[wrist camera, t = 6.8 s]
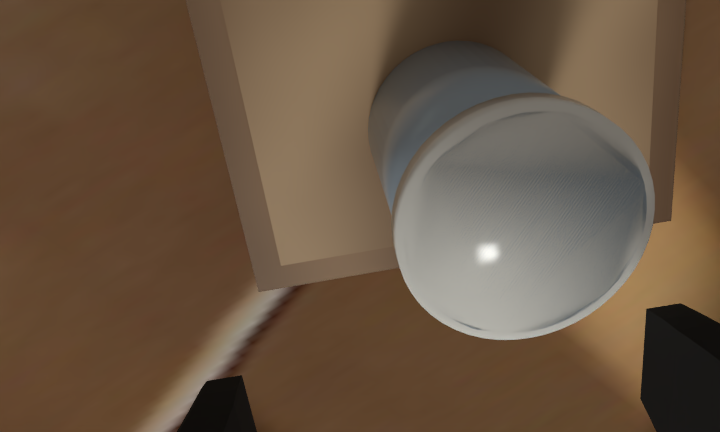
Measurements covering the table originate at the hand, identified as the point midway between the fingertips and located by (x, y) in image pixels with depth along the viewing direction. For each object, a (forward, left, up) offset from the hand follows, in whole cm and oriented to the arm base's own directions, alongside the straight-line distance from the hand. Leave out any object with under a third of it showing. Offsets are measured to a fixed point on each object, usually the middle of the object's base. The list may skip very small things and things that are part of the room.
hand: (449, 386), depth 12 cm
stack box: (-2, -3, -10) cm, 11 cm away
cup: (-2, -2, -7) cm, 8 cm away
